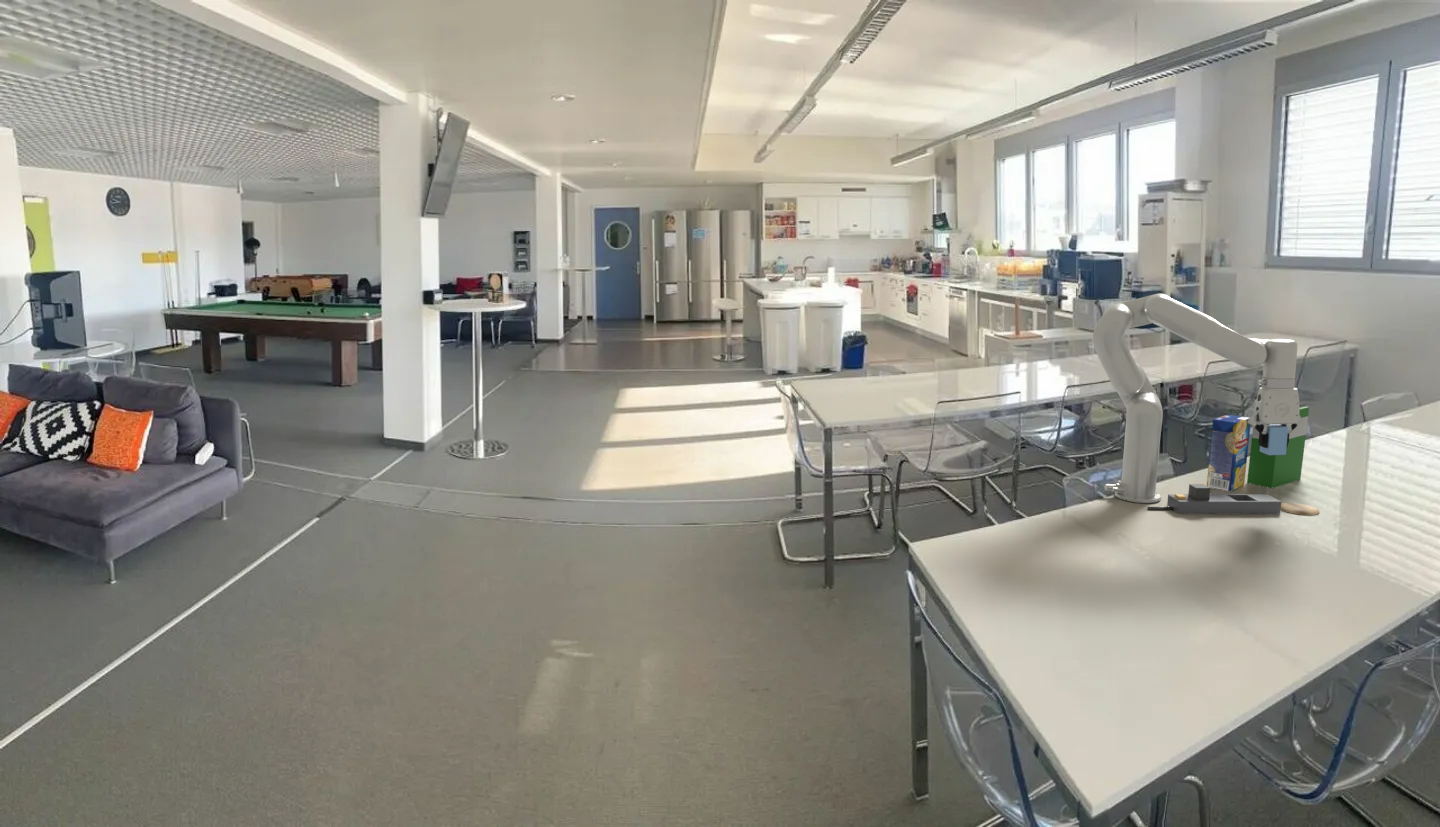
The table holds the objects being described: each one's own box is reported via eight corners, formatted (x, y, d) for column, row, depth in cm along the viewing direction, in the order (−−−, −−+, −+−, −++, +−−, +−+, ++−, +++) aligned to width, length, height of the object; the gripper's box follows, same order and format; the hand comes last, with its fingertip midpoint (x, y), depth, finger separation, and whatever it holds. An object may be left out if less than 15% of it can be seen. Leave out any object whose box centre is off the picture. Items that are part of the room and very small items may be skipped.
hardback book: (1275, 474, 272) (1283, 403, 268) (1300, 479, 266) (1309, 407, 261) (1247, 482, 264) (1254, 410, 259) (1271, 488, 257) (1280, 413, 253)
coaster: (1290, 515, 232) (1290, 513, 232) (1269, 504, 242) (1270, 503, 242) (1327, 515, 232) (1327, 513, 232) (1305, 504, 241) (1305, 503, 241)
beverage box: (1244, 484, 262) (1251, 417, 257) (1229, 491, 255) (1237, 422, 251) (1220, 480, 267) (1227, 414, 263) (1206, 487, 260) (1212, 419, 256)
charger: (1268, 455, 232) (1270, 427, 230) (1259, 451, 236) (1261, 424, 235) (1285, 454, 231) (1288, 427, 230) (1276, 450, 236) (1278, 423, 234)
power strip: (1153, 513, 237) (1155, 489, 235) (1142, 506, 244) (1144, 482, 242) (1280, 513, 234) (1282, 489, 233) (1265, 505, 241) (1268, 482, 239)
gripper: (1253, 386, 227) (1249, 450, 231) (1318, 384, 226) (1313, 448, 229) (1239, 382, 235) (1235, 444, 238) (1302, 380, 233) (1296, 442, 236)
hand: (1273, 445), depth 234 cm, fingers closed on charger, 4 cm apart
